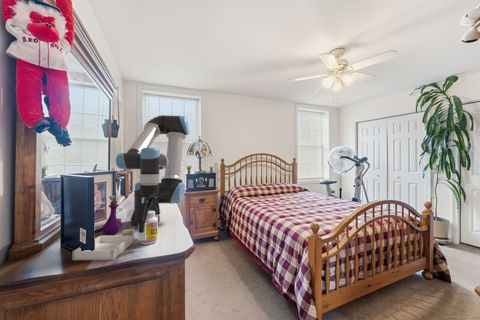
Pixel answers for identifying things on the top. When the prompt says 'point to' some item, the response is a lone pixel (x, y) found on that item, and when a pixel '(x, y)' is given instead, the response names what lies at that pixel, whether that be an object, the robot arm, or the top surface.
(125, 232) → the maple block
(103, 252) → the tray
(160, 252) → the top surface
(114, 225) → the perfume bottle
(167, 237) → the top surface
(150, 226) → the supplement bottle
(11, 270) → the top surface
